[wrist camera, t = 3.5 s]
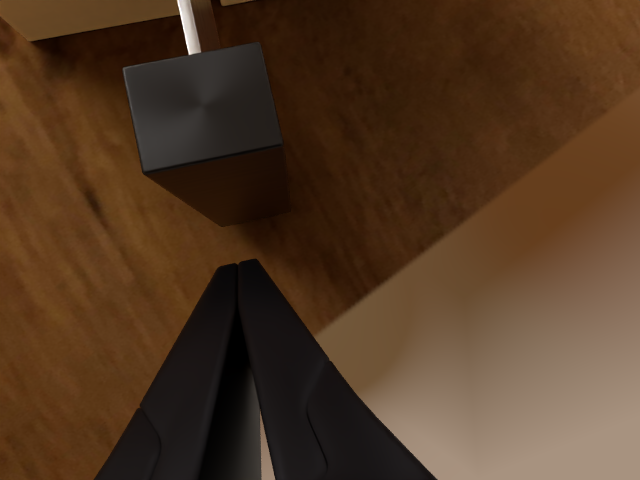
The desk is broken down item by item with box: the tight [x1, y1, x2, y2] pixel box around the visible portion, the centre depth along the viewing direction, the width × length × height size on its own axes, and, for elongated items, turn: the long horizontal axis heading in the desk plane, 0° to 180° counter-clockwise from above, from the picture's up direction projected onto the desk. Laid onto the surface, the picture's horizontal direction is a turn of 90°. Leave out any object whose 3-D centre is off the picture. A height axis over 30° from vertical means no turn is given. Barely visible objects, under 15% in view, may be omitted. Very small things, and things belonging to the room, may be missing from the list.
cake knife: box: [122, 0, 291, 227], centre depth 13 cm, size 10×3×8 cm, turn 13°
